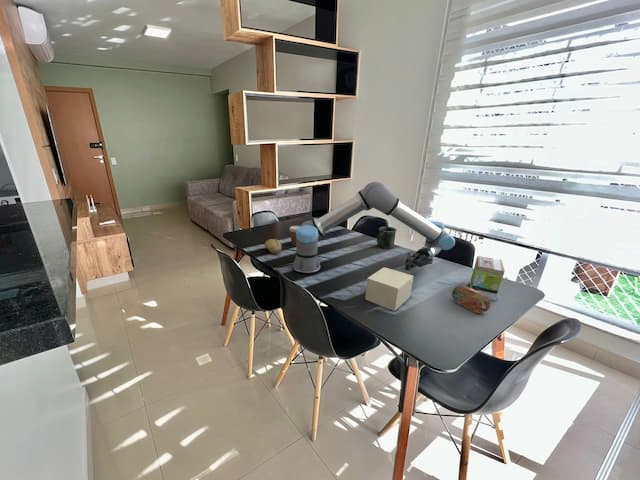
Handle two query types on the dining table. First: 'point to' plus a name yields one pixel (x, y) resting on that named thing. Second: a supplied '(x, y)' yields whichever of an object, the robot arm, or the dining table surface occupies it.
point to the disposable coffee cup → (293, 234)
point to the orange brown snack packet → (471, 299)
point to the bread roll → (273, 246)
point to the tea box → (487, 276)
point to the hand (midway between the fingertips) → (407, 267)
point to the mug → (386, 237)
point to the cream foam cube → (388, 288)
